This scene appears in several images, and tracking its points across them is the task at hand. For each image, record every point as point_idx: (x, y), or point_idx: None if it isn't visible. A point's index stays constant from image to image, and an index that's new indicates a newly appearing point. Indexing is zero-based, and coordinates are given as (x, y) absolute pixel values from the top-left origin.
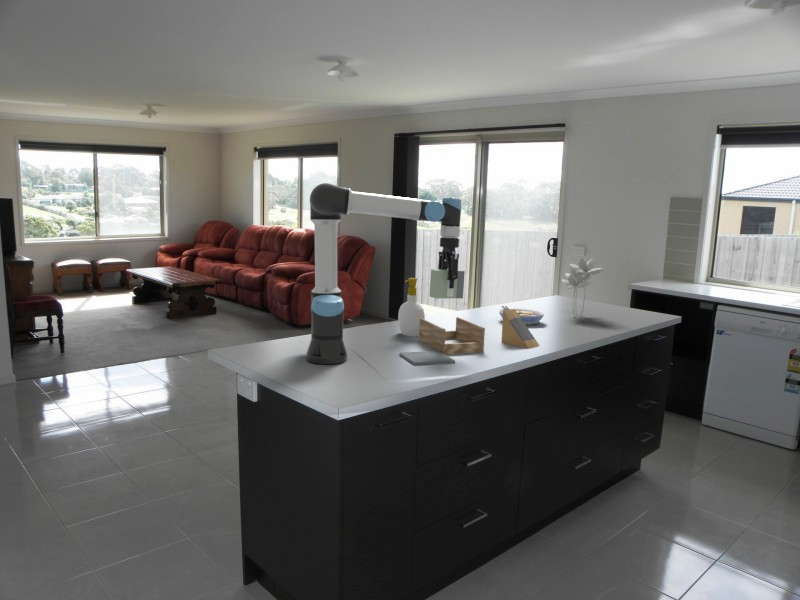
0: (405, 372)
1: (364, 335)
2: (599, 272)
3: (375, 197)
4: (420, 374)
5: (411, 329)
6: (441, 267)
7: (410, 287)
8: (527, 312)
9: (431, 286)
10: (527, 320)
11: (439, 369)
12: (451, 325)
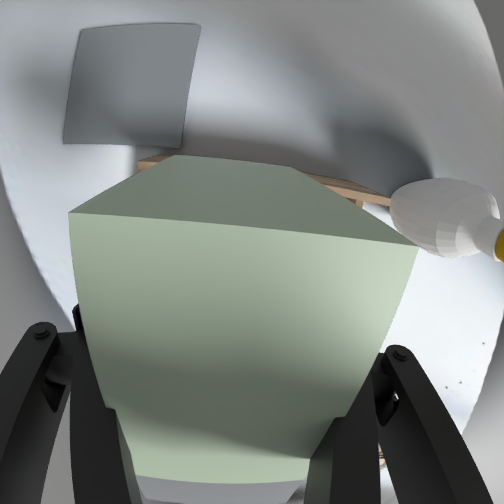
0: (49, 3)
1: (455, 88)
2: None
3: None
4: (25, 31)
5: (407, 188)
6: (365, 434)
7: None
8: None
9: (278, 174)
10: None
11: (34, 81)
12: (436, 352)
